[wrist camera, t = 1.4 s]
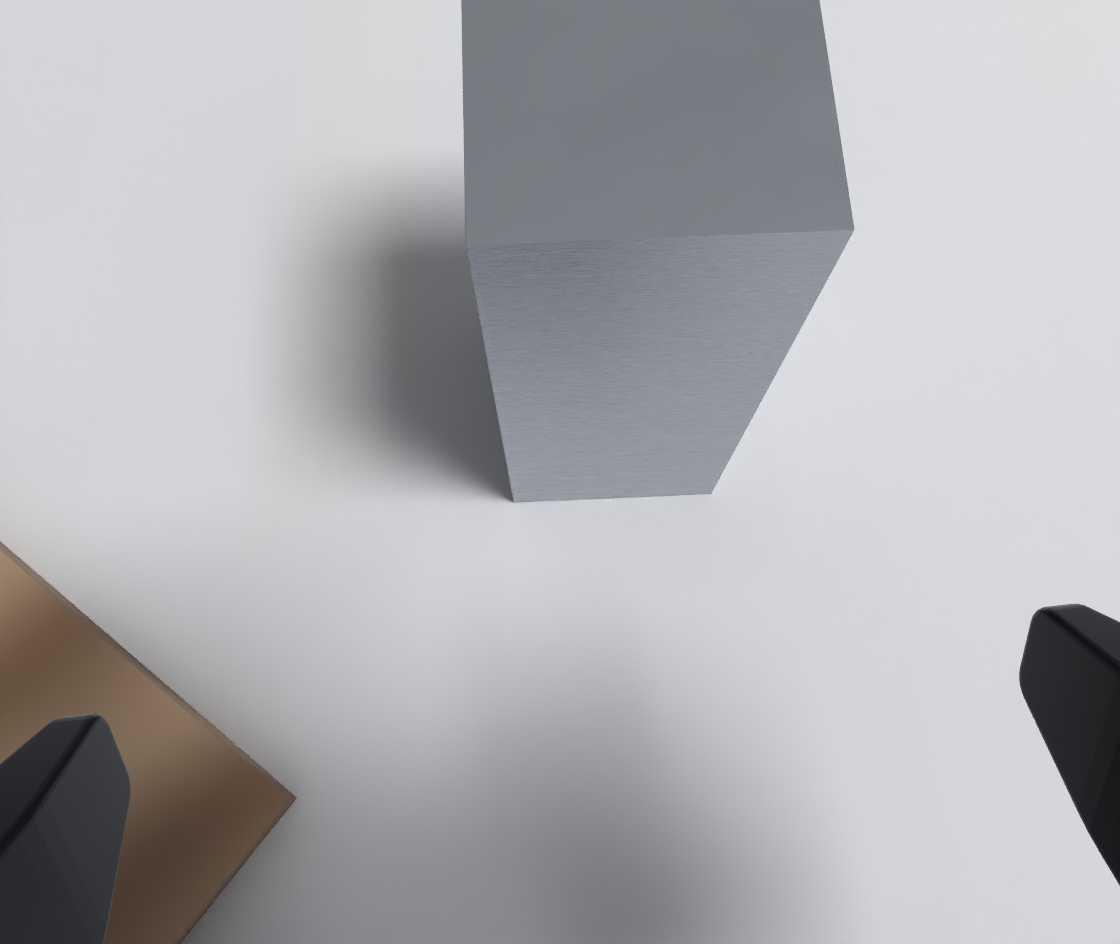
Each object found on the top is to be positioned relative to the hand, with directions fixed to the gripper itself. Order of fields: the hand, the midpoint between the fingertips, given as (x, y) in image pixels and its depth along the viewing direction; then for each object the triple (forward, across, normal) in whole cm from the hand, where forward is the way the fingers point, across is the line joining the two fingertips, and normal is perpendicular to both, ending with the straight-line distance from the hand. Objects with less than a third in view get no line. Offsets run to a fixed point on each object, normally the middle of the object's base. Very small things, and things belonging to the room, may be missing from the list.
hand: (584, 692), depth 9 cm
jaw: (+16, -2, +4) cm, 16 cm away
